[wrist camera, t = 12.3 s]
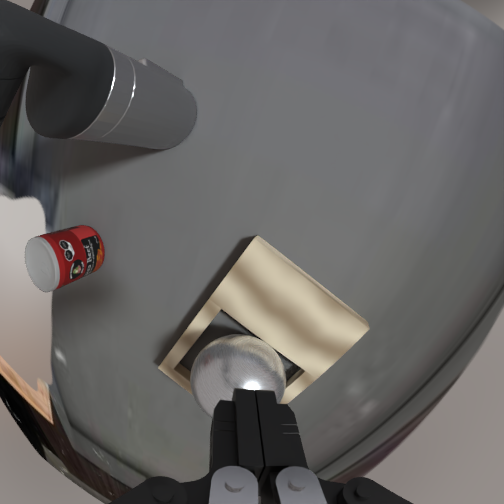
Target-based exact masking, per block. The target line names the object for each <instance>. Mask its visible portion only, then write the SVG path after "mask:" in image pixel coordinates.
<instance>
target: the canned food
mask: <svg viewBox="0 0 504 504" xmlns="http://www.w3.org/2000/svg"><path fill="white" fill-rule="evenodd" d="M103 261H104V246H103V242H102V240H101V238H100V236H99V234H98V233H97V232H96V231H95V230H94V229H93V228H91V227H89V226H84V225H80V226H75V227H71V228H67V229H63V230H59V231H55V232H51V233H47V234H43V235H40V236H36V237H34V238H31V239H30V240H29V241H28V243H27V245H26V248H25V262H26V267H27V270H28V273H29V276H30V278H31V279H32V281H33V283H34V284H35V285H36V286H37V287H38V288H39V289H40V290H42V291H43V292H50V291H54V290H56V289H58V288H60V287H63V286H65V285H67V284H69V283H71V282H73V281H75V280H78V279H80V278H82V277H84V276H86V275H89V274H91V273H93V272H95V271H97V270H98V269H99V268H100V266H101V265H102V263H103Z"/></svg>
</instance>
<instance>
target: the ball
mask: <svg viewBox="0 0 504 504" xmlns="http://www.w3.org/2000/svg"><path fill="white" fill-rule="evenodd" d="M190 384H191V390H192V394H193V396H194V399H195V401H196V402H197V404H198V405H199V407H200V408H201V409H202V410H203V411H204V412H205V413H206V414H207V415H208V416H210V417H211V418H212V419H213V412H214V408H215V407H216V405H217V403H218V402H219V400H228V401H232V396H233V391H234V388H243V389H254V390H255V389H257V390H274V391H275V395H276V400H277V404H280V402H281V400H282V398H283V396H284V392H285V388H286V373H285V368H284V365H283V363H282V361H281V359H280V357H279V356H278V354H277V353H276V352H275V350H274V349H273V348H272V347H271V346H269V345H268V344H267V343H265V342H264V341H262V340H260V339H258V338H256V337H253V336H249V335H243V334H232V335H226V336H223V337H220V338H217V339H215V340H214V341H212V342H210V343H209V344H208V345H206V346H205V347H204V348H203V349H202V350H201V351H200V353H199V354H198V356H197V357H196V359H195V360H194V363H193V366H192V369H191V375H190Z"/></svg>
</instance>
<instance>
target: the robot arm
mask: <svg viewBox="0 0 504 504" xmlns="http://www.w3.org/2000/svg"><path fill="white" fill-rule="evenodd" d="M29 67H30V75H29V80H28V85H27V91H26V113H27V117H28V121H29V123H30V125H31V126H32V128H33V129H34V131H35V132H37V133H38V134H40V135H42V136H44V137H49V138H59V139H73V140H85V141H96V142H105V143H114V144H123V145H130V146H138V147H145V148H150V149H162V150H163V149H169V148H172V147H174V146H176V145H178V144H180V143H181V142H182V141H183V140H184V139H185V138H186V137H187V136H188V135H189V133H190V132H191V130H192V128H193V126H194V124H195V120H196V114H197V108H196V102H195V100H194V97H193V96H192V94H191V93H190V92H189V91H188V90H187V89H185V88H184V86H183V82H182V80H181V79H179V78H177V77H176V76H174V75H173V74H171V73H169V72H168V71H166V70H165V69H163V68H161V67H160V66H158V65H156V64H155V63H153V62H151V61H149V60H148V59H146V58H143V59H140V60H137V61H136V60H135V59H133V58H131V57H129V56H127V55H125V54H123V53H121V52H119V51H117V50H115V49H113V48H111V47H109V46H107V45H105V44H103V43H101V42H99V41H97V40H94V39H92V38H90V37H88V36H85V35H83V34H81V33H78V32H76V31H74V30H72V29H69V28H67V27H65V26H62V25H60V24H58V23H55V22H53V21H51V20H49V19H47V18H45V17H43V16H40V15H38V14H36V13H34V12H32V11H30V10H28V9H25V8H23V7H21V6H19V5H17V4H14V3H12V2H10V1H7V0H0V127H1V125H2V122H3V120H4V118H5V116H6V113H7V111H8V109H9V107H10V105H11V102H12V100H13V98H14V96H15V94H16V92H17V90H18V88H19V86H20V84H21V82H22V80H23V78H24V76H25V75H26V73H27V71H28V69H29ZM258 496H261V504H413V503H411V502H409V501H407V500H405V499H403V498H402V497H400V496H398V495H396V494H395V493H393V492H391V491H390V490H388V489H386V488H384V487H383V486H381V485H379V484H378V483H376V482H375V481H373V480H371V479H368V478H365V477H357V478H353V479H351V480H349V481H348V482H347V483H346V484H343V483H336V482H330V481H325V480H322V479H320V478H318V477H317V476H316V475H315V474H314V473H313V472H312V471H310V470H309V468H308V466H307V462H306V458H305V454H304V450H303V446H302V442H301V438H300V435H299V430H298V426H297V422H296V418H295V414H294V412H293V411H292V410H291V409H290V407H289V406H288V405H287V404H277V400H276V395H275V391H274V390H257V389H255V390H254V389H243V388H234V391H233V396H232V401H228V400H219V402H218V403H217V405H216V407H215V408H214V412H213V419H212V425H211V432H210V464H209V473H208V474H207V475H206V476H205V477H203V478H201V479H199V480H196V481H191V482H184V483H179V482H178V481H176V480H174V479H172V478H169V477H163V476H157V477H152V478H149V479H147V480H146V481H144V482H143V483H141V484H139V485H138V486H136V487H135V488H133V489H132V490H130V491H129V492H127V493H125V494H124V495H122V496H120V497H119V498H117V499H116V500H114V501H112V502H110V503H109V504H258Z"/></svg>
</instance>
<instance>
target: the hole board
mask: <svg viewBox="0 0 504 504" xmlns="http://www.w3.org/2000/svg"><path fill="white" fill-rule="evenodd" d="M221 309H222V310H224V311H225V312H226V313H228V314H229V315H230V316H231V317H233V318H234V319H235V320H237V321H238V322H239V323H241V324H242V325H243V326H245V327H246V328H247V329H249V330H250V331H251V332H253V333H254V334H255V335H257V336H258V337H259V338H261V339H262V340H263V341H265V342H266V343H267V344H269V345H270V346H271V347H273V348H274V349H275V350H277V351H278V352H280V353H281V354H282V355H284V356H285V357H287V358H288V359H289V360H291V361H292V362H294V363H295V364H296V365H298V366H299V367H301V369H300V370H299V371H298V372H296V373H295V374H294V375H293V376H292V377H291V378H290V379H289V380H288V381H286V388H285V392H284V396H283V398H282V400H281V402H280V404H287V403H288V402H290V401H291V400H292V399H293V398H295V397H296V396H297V395H298V394H299V393H301V392H302V391H303V390H304V389H305V388H307V387H308V386H309V385H310V384H311V383H312V382H314V381H315V380H316V379H317V378H318V377H319V376H320V375H322V374H323V373H324V372H325V371H326V370H327V369H328V368H329V367H331V366H332V365H333V364H334V363H335V362H336V361H337V360H338V359H339V358H340V357H341V356H342V355H343V354H345V353H346V352H347V351H348V350H349V349H350V348H351V347H352V346H353V345H354V344H355V343H356V342H357V341H358V340H359V339H360V338H361V337H362V336H363V335H364V334H365V333H366V332H367V331H368V330H369V325H368V322H367V321H366V320H365V319H363V318H362V317H361V316H360V315H358V314H357V313H356V312H355V311H353V310H352V309H351V308H350V307H348V306H347V305H346V304H345V303H343V302H342V301H341V300H340V299H338V298H337V297H336V296H335V295H333V294H332V293H331V292H330V291H328V290H327V289H326V288H325V287H323V286H322V285H321V284H319V283H318V282H317V281H316V280H314V279H313V278H312V277H311V276H309V275H308V274H307V273H306V272H304V271H303V270H302V269H300V268H299V267H298V266H297V265H295V264H294V263H293V262H292V261H290V260H289V259H288V258H286V257H285V256H284V255H283V254H281V253H280V252H279V251H277V250H276V249H275V248H274V247H272V246H271V245H270V244H268V243H267V242H266V241H265V240H263V239H262V238H261V237H259V236H258V235H257V236H256V237H255V238H254V239H253V240H252V242H251V243H250V244H249V246H248V247H247V248H246V250H245V251H244V253H243V254H242V255H241V257H240V258H239V259H238V261H237V262H236V263H235V265H234V266H233V267H232V269H231V270H230V271H229V273H228V274H227V275H226V277H225V278H224V279H223V281H222V282H221V283H220V285H219V286H218V287H217V289H216V290H215V291H214V293H213V294H212V295H211V297H210V298H209V300H208V301H207V302H206V304H205V305H204V306H203V308H202V309H201V310H200V312H199V313H198V314H197V316H196V317H195V318H194V320H193V321H192V322H191V324H190V325H189V327H188V328H187V329H186V331H185V332H184V333H183V335H182V336H181V337H180V339H179V340H178V341H177V343H176V344H175V345H174V347H173V348H172V350H171V351H170V352H169V354H168V355H167V356H166V358H165V359H164V360H163V362H162V363H161V364H160V366H159V367H158V368H159V369H160V370H161V371H162V372H164V373H165V374H166V375H167V376H169V377H170V378H171V379H173V380H174V381H175V382H176V383H178V384H179V385H180V386H182V387H183V388H184V389H186V390H187V391H188V392H190V393H191V394H192V390H191V384H190V375H191V372H190V371H189V370H188V369H186V368H185V367H184V366H182V365H181V364H180V363H179V362H180V360H181V359H182V358H183V357H184V355H185V354H186V353H187V351H188V350H189V349H190V348H191V346H192V345H193V344H194V343H195V341H196V340H197V339H198V338H199V336H200V335H201V334H202V333H203V331H204V330H205V329H206V327H207V326H208V325H209V324H210V322H211V321H212V320H213V319H214V317H215V316H216V315H217V314H218V312H219V311H220V310H221ZM192 395H193V394H192Z"/></svg>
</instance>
